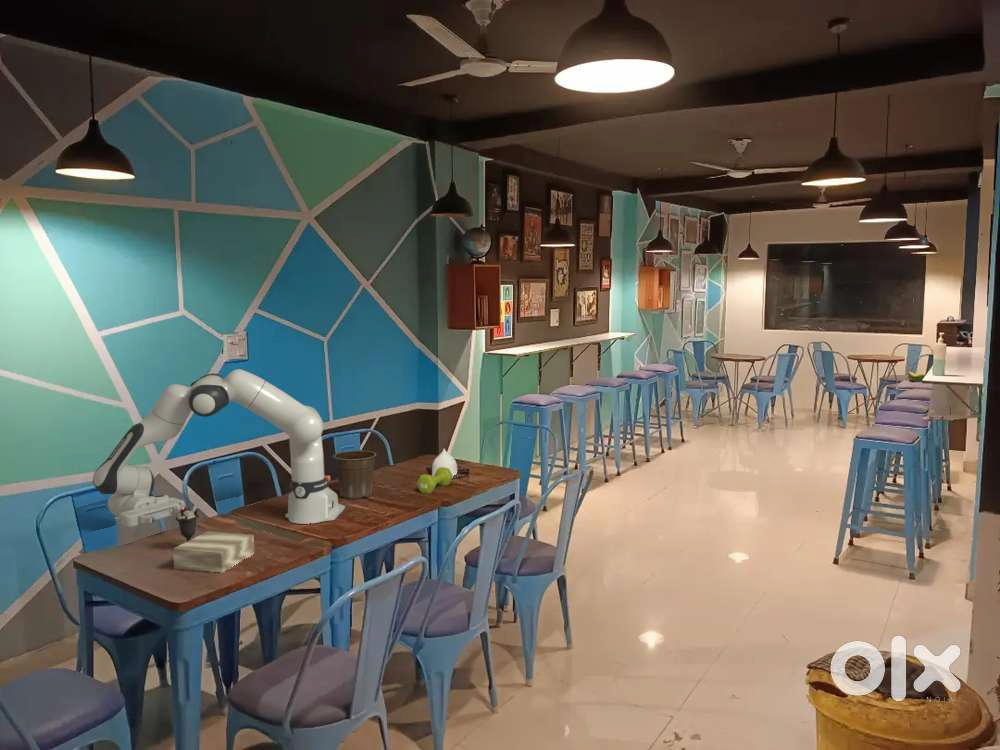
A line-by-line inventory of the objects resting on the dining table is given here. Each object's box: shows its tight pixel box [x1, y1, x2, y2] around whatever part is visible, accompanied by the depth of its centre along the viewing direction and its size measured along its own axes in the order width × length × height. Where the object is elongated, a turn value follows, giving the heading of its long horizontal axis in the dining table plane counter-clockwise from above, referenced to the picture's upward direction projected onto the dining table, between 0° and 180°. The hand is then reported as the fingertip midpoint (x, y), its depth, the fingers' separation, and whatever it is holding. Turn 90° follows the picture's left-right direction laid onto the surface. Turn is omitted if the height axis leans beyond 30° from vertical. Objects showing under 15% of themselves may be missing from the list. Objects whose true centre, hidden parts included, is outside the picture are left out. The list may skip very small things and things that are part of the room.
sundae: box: [175, 503, 200, 542], centre depth 233 cm, size 7×7×15 cm
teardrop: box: [431, 448, 458, 477], centre depth 320 cm, size 11×11×12 cm
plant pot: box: [333, 450, 377, 500], centre depth 291 cm, size 16×16×16 cm
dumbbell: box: [416, 467, 454, 495], centre depth 299 cm, size 16×8×7 cm, turn 152°
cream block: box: [172, 530, 255, 574], centre depth 222 cm, size 16×16×6 cm
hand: (166, 516), depth 239 cm, fingers open, 8 cm apart
